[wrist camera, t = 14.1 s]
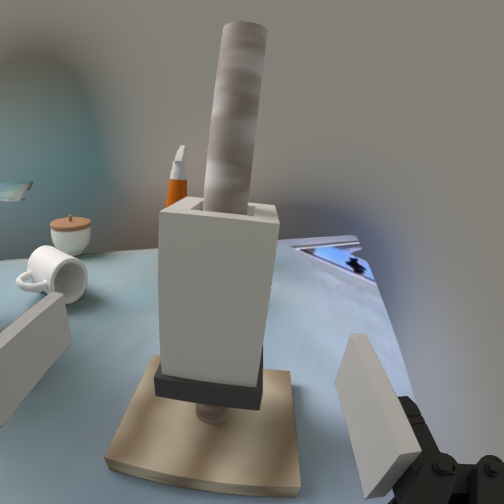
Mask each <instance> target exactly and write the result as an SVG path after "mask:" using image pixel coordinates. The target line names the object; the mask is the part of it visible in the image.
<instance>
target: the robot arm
mask: <svg viewBox="0 0 504 504" xmlns="http://www.w3.org/2000/svg"><path fill="white" fill-rule="evenodd" d="M71 343H72V338H71V333H70V328H69V323H68V317H67V311H66V304H65V298H64V294H61V293H57V292H53V291H52V292H51V293H49V294H48V295H47V296H45V297H44V298H43V299H41V300H40V301H39V302H38V303H36V304H35V305H34V306H33V307H31V308H30V309H29V310H28V311H26V312H25V313H24V314H23V315H21V316H20V317H19V318H18V319H16V320H15V321H14V322H13V323H12V324H10V325H9V326H8V327H7V328H6V329H4V330H3V331H2V332H1V333H0V427H1V428H2V427H3V426H4V424H5V423H6V422H7V420H8V419H9V418H10V417H11V415H12V414H13V413H14V411H15V410H16V409H17V408H18V406H19V405H20V404H21V403H22V401H23V400H24V399H25V398H26V396H27V395H28V394H29V393H30V391H31V390H32V389H33V388H34V386H35V385H36V384H37V383H38V382H39V380H40V379H41V378H42V377H43V376H44V374H45V373H46V372H47V371H48V370H49V368H50V367H51V366H52V365H53V364H54V363H55V361H56V360H57V359H58V358H59V357H60V356H61V355H62V353H63V352H64V351H65V350H66V349H67V348H68V347H69V345H70V344H71ZM335 384H336V388H337V392H338V395H339V399H340V403H341V406H342V410H343V414H344V417H345V421H346V425H347V429H348V433H349V437H350V440H351V444H352V448H353V452H354V456H355V460H356V464H357V469H358V473H359V477H360V481H361V485H362V490H363V494H364V498H365V499H371V498H377V497H384V496H386V494H387V493H388V492H389V491H390V490H391V489H393V492H394V495H395V497H394V498H393V499H392V500H391V501H390V502H389V503H388V504H504V463H503V462H502V460H501V459H499V458H498V457H496V456H493V455H486V456H484V457H482V458H481V459H480V460H479V461H478V463H477V464H476V465H473V464H457V462H456V461H455V459H454V458H453V457H452V456H450V455H448V454H445V453H441V452H440V451H439V449H438V447H437V445H436V443H435V441H434V439H433V437H432V435H431V433H430V431H429V429H428V427H427V425H426V424H425V421H424V419H423V417H422V416H421V413H420V411H419V409H418V407H417V405H416V404H415V403H414V402H413V401H412V400H411V399H410V398H409V397H408V396H402V397H397V395H396V393H395V391H394V389H393V387H392V385H391V383H390V381H389V379H388V377H387V375H386V373H385V371H384V369H383V367H382V365H381V363H380V361H379V359H378V357H377V355H376V353H375V351H374V349H373V347H372V345H371V343H370V341H369V339H368V337H367V335H366V334H350V335H349V339H348V342H347V345H346V349H345V352H344V355H343V358H342V361H341V364H340V367H339V370H338V373H337V376H336V379H335Z"/></svg>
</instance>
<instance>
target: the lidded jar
mask: <svg viewBox="0 0 504 504" xmlns="http://www.w3.org/2000/svg"><path fill="white" fill-rule="evenodd" d="M50 228H51V236H52V241H53V244H54V246H55V248H56V249H58V250H60V251H62V252H64V253H66V254H68V255H70V256H76V255H80V254H82V253H83V250H84V249H85V248H86V247H87V245H88V243H89V240H90V230H91V221H90V220H89V219H87V218H81V217H72V215H68V218H61V219H57V220H54V221H52V222H51V223H50Z"/></svg>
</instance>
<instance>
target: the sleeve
mask: <svg viewBox="0 0 504 504" xmlns="http://www.w3.org/2000/svg"><path fill="white" fill-rule="evenodd" d="M203 201H204V198H196V197H185V198H183V199H182V200H180V201H178V202H176V203H174V204H172V205H171V206H169V207H167V208H165V209H164V210H162V211H160V216H159V251H158V298H159V333H160V354H161V370H162V374H163V375H168V376H174V377H180V378H186V379H192V380H199V381H206V382H213V383H221V384H229V385H238V386H247V387H256V385H257V378H258V372H259V366H260V359H261V353H262V346H263V339H264V333H265V326H266V319H267V312H268V305H269V299H270V291H271V284H272V277H273V270H274V263H275V255H276V248H277V240H278V233H279V225H280V224H279V220H278V216H277V212H276V209H275V206H274V205H265V204H257V203H248V208H247V215H240V214H230V213H220V212H210V211H203Z"/></svg>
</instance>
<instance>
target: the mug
mask: <svg viewBox="0 0 504 504" xmlns="http://www.w3.org/2000/svg"><path fill="white" fill-rule="evenodd" d="M29 279H30V280H31V282H32V283H33V284H28V283H24V281H26V280H29ZM87 282H88V273H87V269H86V267H85V265H84V264H83V262H82V261H80V260H79V259H77V258H75V257H73V256H70V255H68V254H66V253H64V252H62V251H60V250H58V249H56V248H54V247H52V246H41V247H39V248H38V249H36V250H35V251H34V252H33V253H32V255H31V257H30V258H29V261H28V267H27V272H25V273H23V274H21V275H20V276H19V277H18V278H17V280H16V284H17V286H18V287H19V288H20V289H21V290H23V291H26V292H41V291H44V292H45V293H46V294H49V293H51V292H52V291H53V292H57V293H61V294H64V298H65V304H71V303H74V302H75V301H77V300H78V299H79V298H80V297H81V296H82V295H83V293H84V291H85V289H86V287H87Z"/></svg>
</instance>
